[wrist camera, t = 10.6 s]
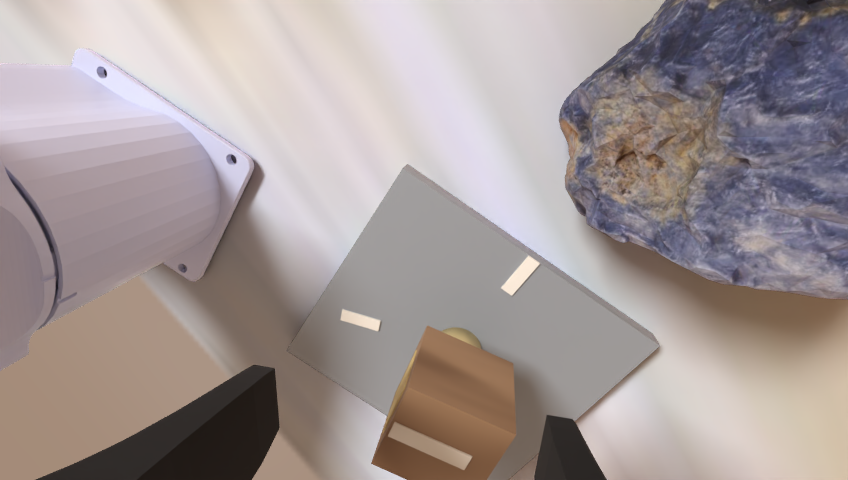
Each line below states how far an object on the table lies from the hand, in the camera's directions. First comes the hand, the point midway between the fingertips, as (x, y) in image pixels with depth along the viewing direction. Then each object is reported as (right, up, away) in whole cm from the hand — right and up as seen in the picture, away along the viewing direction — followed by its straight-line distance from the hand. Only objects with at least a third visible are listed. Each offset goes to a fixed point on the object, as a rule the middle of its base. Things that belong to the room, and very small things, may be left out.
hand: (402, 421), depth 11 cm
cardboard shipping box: (+2, -1, +8) cm, 8 cm away
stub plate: (+2, 0, +11) cm, 11 cm away
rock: (+11, +9, +6) cm, 16 cm away
